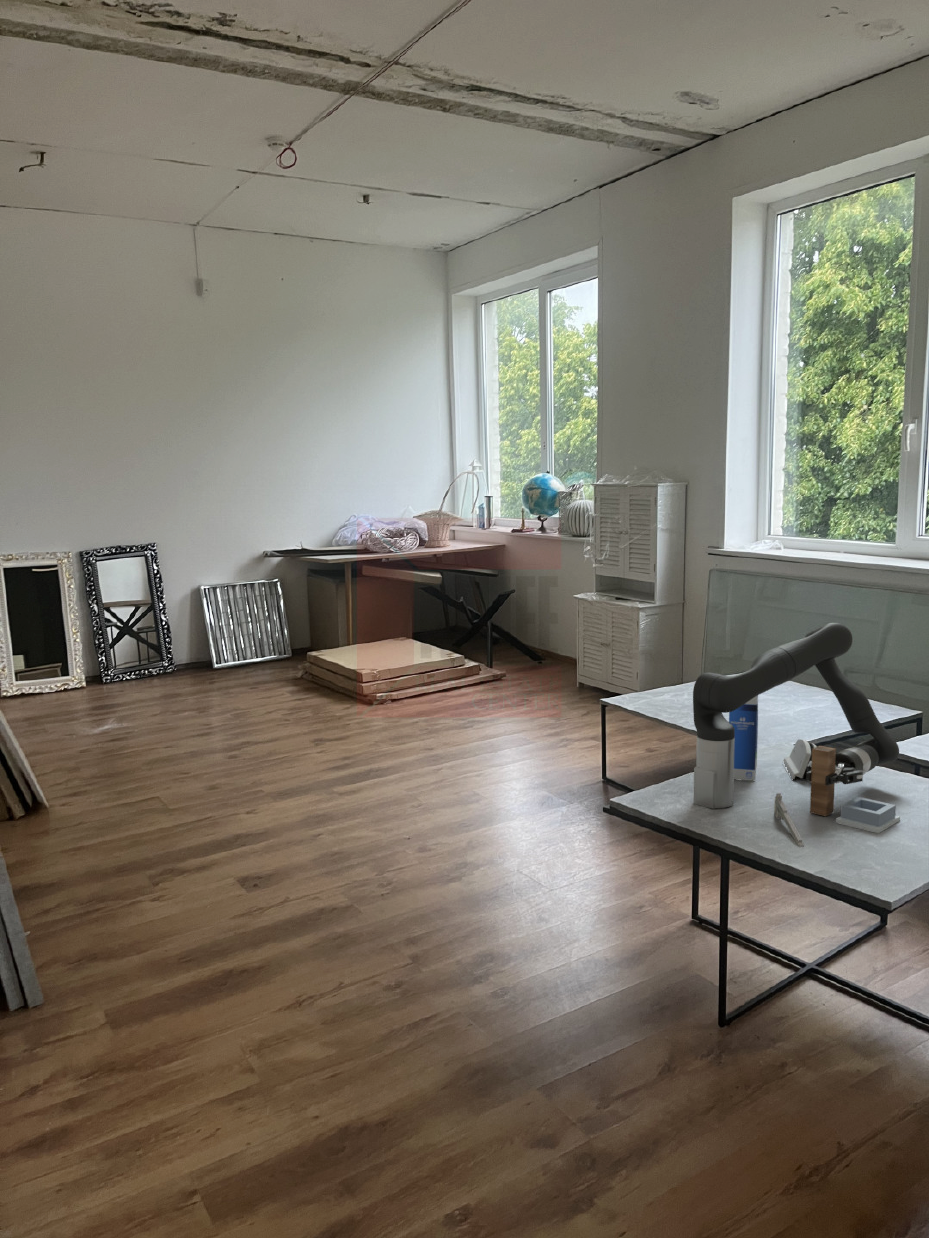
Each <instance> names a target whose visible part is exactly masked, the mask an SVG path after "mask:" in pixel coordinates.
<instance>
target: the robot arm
mask: <svg viewBox="0 0 929 1238" xmlns="http://www.w3.org/2000/svg"><path fill="white" fill-rule="evenodd" d="M852 645H853V634H852V631H851V630H850V629H849V628H848V627H847V626H846V625H845V624H842V623H838V622H829V623H826V624H823V625H821V626H819V627H817V628H815V629H813V630H810V631H809V632H807V633H806V634H805V637H803V638H801V639H797V640H793V641H791V642H789V641H788V642H787V643H784V644H781V645H777V646H776V647H774V648H770V649H769V650H767V651H764V652H762V653H761V654H759V655H758V656H756V657H755V659H754V660H753V662H752V664H751V666H750V669H747V670H745V671H744V672H742V673H739V674H736V675H725V674H719V673H715V672H704V673H701V674H700V675H699V676H697V678H696V680H695V682H694V684H693V691H692V706H693V708H692V710H693V711H692V713H693V724H694V727H695V729H696V755H695V756H696V758H695V759H696V764H695V765H696V766H694V767H693V804H695V803H697V804H696V805H699V806H702V807H705V808H709V809H711V810H713V809H714V810H715V809H724V808H729V807H732V806H733V805H734V792H735V791H734V790H735V789H734V785H735V783H734V782H735V780H734V742H735V738H734V737H735V729H734V727H733V725H732V724H730V723H729V720H727V719H726V717H725V716H724V714H723V713H725V714H726V713H728V714H729V712H732V711H734V710H736V709H738V708H739V707H741V706H742V705H744V704H745V703H747V702H748V701H750V700H751V699H753V698H754V697H756V696H758V697H759V696H760V695H761V694H764V693H765V692H768V691H769V690H771V689H773V688H775V687H778V686H780V685H782V684H785V683H786V682H789V681H790V680H793V679H795V678H797V677H798V676H800V675H801V674H803V673H805V672H806V671H808V670H810V669H811V668H813V667H815V668H816V669H817V671H818V672H819V674H820V675H821V676H822V677H821V678H823V679H824V681H825V683H826V684H827V685H828V687H829V689H830V690H831V691H832V693H833V695H834V696H835V698H836V699H837V702H838V704H839V705H840V707H841V710H842V711H843V713H844V716H845V718H846V720H847V723H848V724H849V727H850V729H851V730H852V732H853V733H854V734H855V733H856V734H869V735H870V736H871V737H872V738H871V739H868V740H864V741H862V742H859V743H857V744H856V745H854V746H853V747H848V748H845V749H842V750H840V751H839V752H836V756H835V774H834V773H832V774H830V775H828V776H826V778H825V785H828V786H829V785H831V784H834V783H835V784H840V783H842V784H843V785H848V784H849V785H850V784H856V783H861V782H863V781H864V780H863V779H864V775H865V774H866V773H868V772H871V771H872V770H873V769H875V768H876V767H878V766H881V765H885V764H889V763H891V762H895V761H897V759H898V758H899V756H900V747H899V745H898V743H897V742H896V740H895V739H894V738H893V736H892V735H891V734H890V733H889V732H888V731H887V729H886V728H885V727H884V726H883V724H882V723H881V722H880V721H879V719H878V717H877V715H876V713H875V712H874V711H875V710H874V709H873V706H872V705H871V703H870V701H869V699H868V697H867V696H866V694H865V693H864V692H863V691H862V690H861V689H860V688H859V687H858V686H857V685H856V684H854V683H853V681H852V680H850V679H849V678H848V677H847V676H846V675H845V674H844V673H843V672H842V671H841V669H840V668H839V666H838V664H837V662H836V659H837V658H839V657H840V656H844V655H845V654H846V653H848V652H849V650H850V649H851V647H852ZM811 767H812V761H810V762H809V764H808V765H807V773H806V778H805V780H806V779H807V780H806V781H807V782H811V774H812V772H811Z"/></svg>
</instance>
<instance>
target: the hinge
mask: <svg viewBox="0 0 929 1238" xmlns="http://www.w3.org/2000/svg"><path fill="white" fill-rule="evenodd" d="M815 747H818V746H817V745H816V744H814V743H812V742H811V741H807V740H806V739H797V740H795V744H794V746H793V748H792V750H791V752H790V755H789V756H788V757H784V758H783V761H784V764H785V767H787V770H788V773H790V776H791V778H790V779H794V780H795V778H796V777H798V778H800V779H804V778H805V779H806V773H807V765H808V764H809V762H810V761H812V749H813V748H815ZM788 773H787V774H788ZM790 776H789V777H790Z"/></svg>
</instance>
